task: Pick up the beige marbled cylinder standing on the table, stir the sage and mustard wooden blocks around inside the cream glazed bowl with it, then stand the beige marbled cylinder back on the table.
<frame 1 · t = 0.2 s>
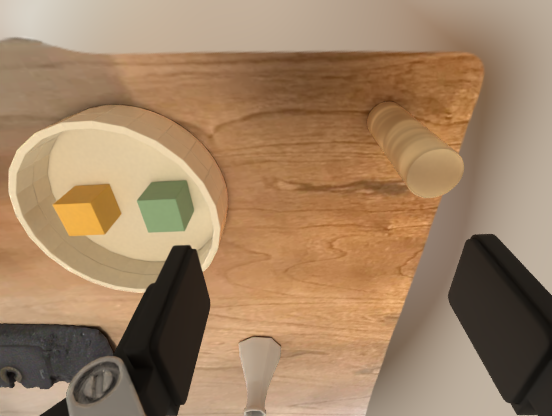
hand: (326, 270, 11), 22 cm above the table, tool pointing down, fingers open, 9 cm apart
dark slate chunk: (58, 351, 53), on the table
flask: (260, 347, 51), on the table
beige marbled cylinder: (385, 120, 30), on the table
mustard block: (99, 200, 35), point 1 cm above the table, touching bowl
sage block: (173, 196, 35), point 1 cm above the table, touching bowl
bowl: (140, 194, 36), on the table
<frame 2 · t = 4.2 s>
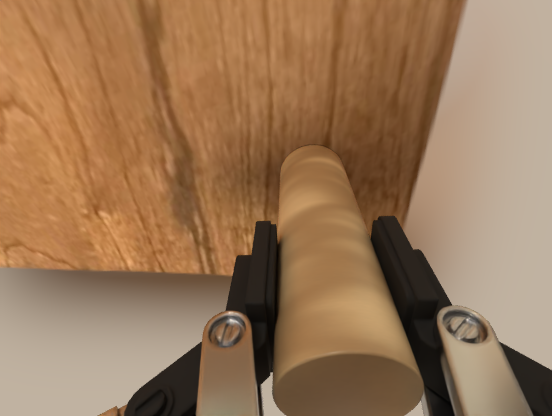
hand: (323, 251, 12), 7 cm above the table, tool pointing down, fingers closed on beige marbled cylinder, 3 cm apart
beige marbled cylinder: (311, 174, 18), on the table, touching gripper
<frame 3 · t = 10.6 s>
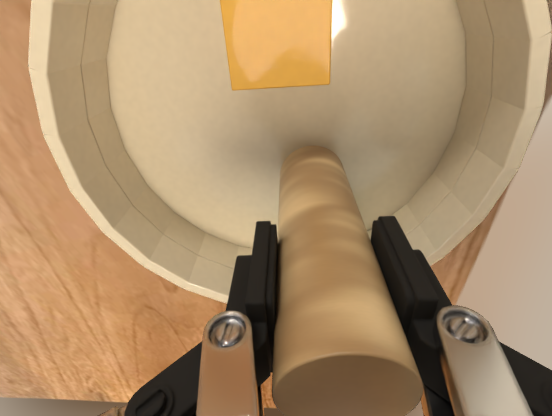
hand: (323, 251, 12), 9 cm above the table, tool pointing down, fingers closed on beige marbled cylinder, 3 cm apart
beige marbled cylinder: (311, 175, 18), point 2 cm above the table, touching gripper
mustard block: (279, 26, 15), point 1 cm above the table, touching bowl
bowl: (283, 115, 18), on the table
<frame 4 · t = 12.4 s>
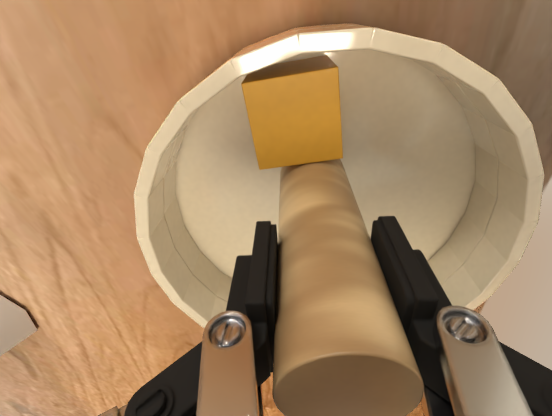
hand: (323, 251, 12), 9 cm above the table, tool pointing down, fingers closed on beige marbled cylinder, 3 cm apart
beige marbled cylinder: (311, 175, 18), point 2 cm above the table, touching gripper
mustard block: (293, 101, 17), point 1 cm above the table, touching bowl
bowl: (319, 197, 21), on the table
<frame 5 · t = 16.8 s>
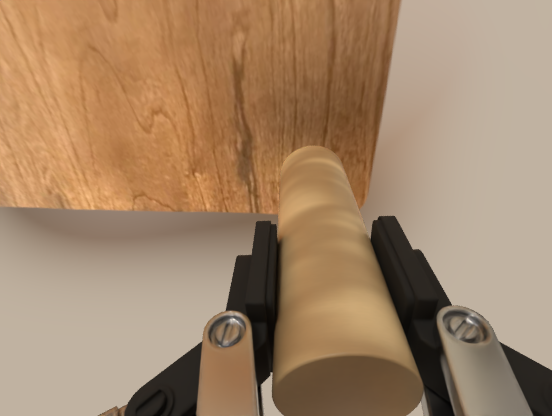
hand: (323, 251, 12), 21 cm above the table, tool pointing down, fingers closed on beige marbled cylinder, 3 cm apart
beige marbled cylinder: (311, 175, 18), point 14 cm above the table, touching gripper
when the fingers open (7 cm above the table, at t = 20.3 s): beige marbled cylinder stays where it is, on the table.
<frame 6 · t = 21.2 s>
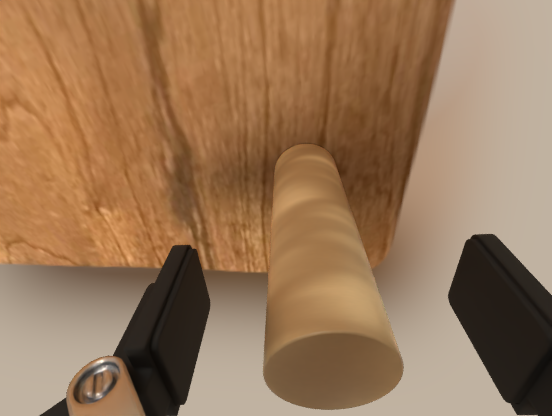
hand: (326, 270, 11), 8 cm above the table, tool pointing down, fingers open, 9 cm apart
beige marbled cylinder: (305, 172, 18), on the table
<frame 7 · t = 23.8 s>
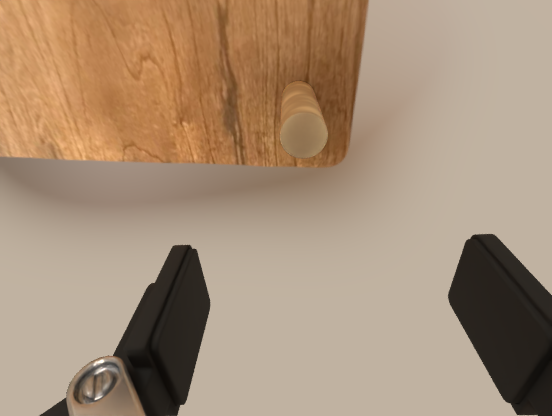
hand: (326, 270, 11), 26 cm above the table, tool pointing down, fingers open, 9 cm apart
beige marbled cylinder: (298, 98, 33), on the table
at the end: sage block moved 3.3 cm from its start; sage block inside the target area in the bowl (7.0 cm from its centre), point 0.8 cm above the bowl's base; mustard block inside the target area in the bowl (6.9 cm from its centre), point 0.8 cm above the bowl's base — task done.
